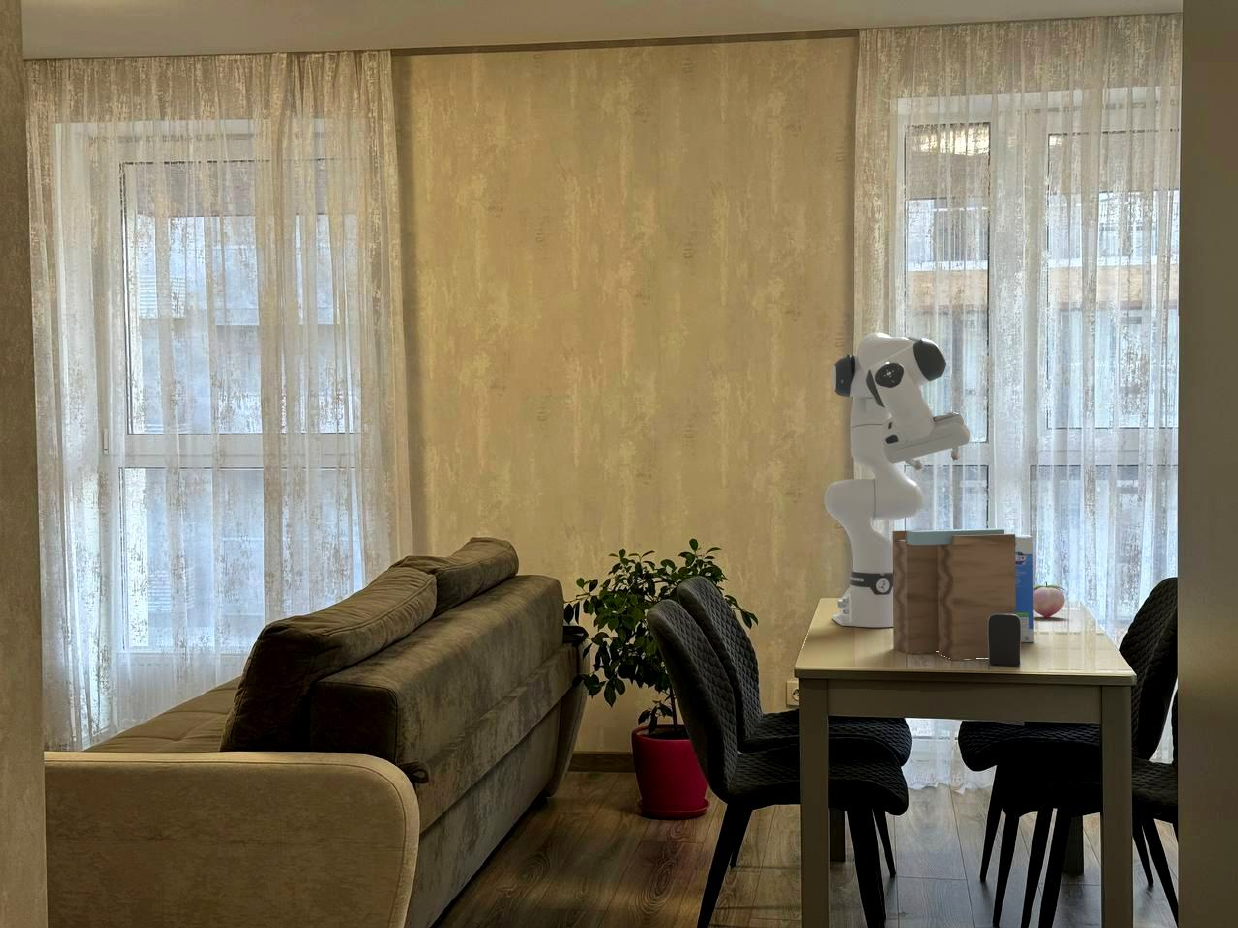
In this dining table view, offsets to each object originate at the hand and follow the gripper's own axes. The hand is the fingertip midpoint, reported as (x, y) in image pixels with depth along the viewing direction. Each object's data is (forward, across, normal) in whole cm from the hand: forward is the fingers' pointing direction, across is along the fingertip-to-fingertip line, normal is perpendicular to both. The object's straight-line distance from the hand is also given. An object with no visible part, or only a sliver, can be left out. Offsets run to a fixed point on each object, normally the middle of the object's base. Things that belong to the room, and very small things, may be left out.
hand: (937, 463), depth 305 cm
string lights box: (+44, -1, +20) cm, 48 cm away
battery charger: (+21, -8, +47) cm, 52 cm away
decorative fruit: (+74, -2, -11) cm, 75 cm away
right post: (+26, 0, +39) cm, 47 cm away
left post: (+26, +11, +34) cm, 44 cm away
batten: (+4, -3, +24) cm, 24 cm away
